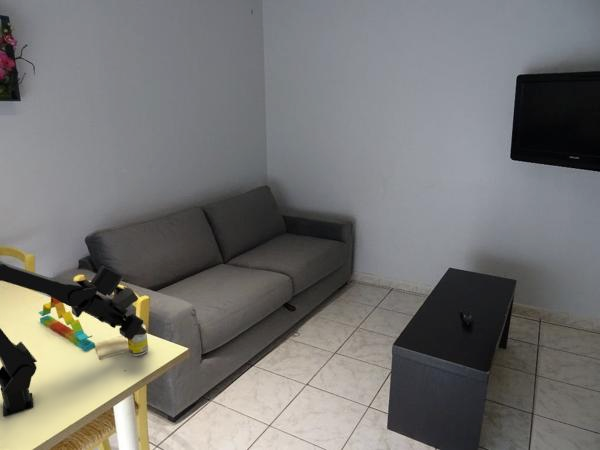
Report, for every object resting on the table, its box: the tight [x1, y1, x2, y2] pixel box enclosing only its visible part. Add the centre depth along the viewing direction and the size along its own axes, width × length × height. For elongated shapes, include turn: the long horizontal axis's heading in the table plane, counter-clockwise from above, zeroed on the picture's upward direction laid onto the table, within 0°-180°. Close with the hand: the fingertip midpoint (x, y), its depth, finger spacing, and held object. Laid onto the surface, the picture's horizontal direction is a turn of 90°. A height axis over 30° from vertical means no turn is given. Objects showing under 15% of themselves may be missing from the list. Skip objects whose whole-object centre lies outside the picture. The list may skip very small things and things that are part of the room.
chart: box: [38, 296, 96, 353], centre depth 146 cm, size 30×3×15 cm, turn 53°
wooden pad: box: [94, 335, 129, 360], centre depth 140 cm, size 9×9×1 cm
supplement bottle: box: [127, 323, 149, 357], centre depth 136 cm, size 6×6×10 cm
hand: (140, 329), depth 136 cm, fingers closed on supplement bottle, 5 cm apart
